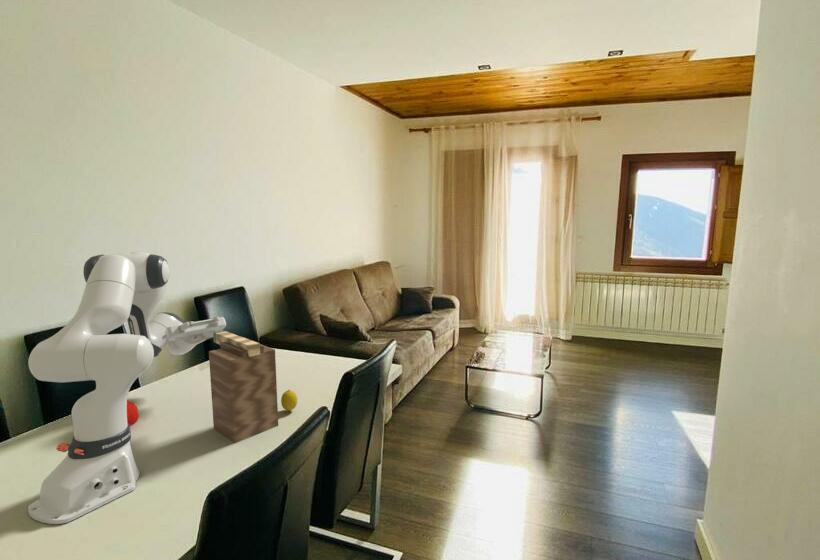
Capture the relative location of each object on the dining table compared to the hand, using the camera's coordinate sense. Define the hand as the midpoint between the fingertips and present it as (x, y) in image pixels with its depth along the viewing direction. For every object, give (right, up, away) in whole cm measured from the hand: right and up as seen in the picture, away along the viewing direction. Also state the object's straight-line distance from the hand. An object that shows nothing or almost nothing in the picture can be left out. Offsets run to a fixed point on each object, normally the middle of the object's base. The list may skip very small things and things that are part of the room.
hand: (203, 321), depth 151 cm
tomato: (-22, -34, -13) cm, 43 cm away
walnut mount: (+19, -34, -10) cm, 40 cm away
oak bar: (+16, -8, -11) cm, 21 cm away
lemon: (+30, -32, +1) cm, 44 cm away
